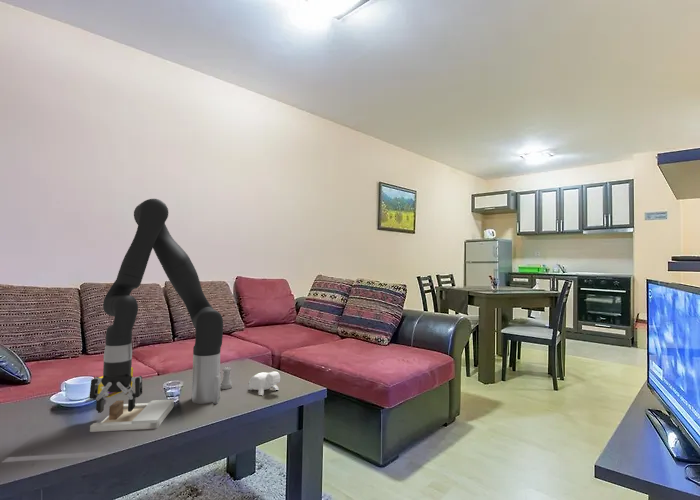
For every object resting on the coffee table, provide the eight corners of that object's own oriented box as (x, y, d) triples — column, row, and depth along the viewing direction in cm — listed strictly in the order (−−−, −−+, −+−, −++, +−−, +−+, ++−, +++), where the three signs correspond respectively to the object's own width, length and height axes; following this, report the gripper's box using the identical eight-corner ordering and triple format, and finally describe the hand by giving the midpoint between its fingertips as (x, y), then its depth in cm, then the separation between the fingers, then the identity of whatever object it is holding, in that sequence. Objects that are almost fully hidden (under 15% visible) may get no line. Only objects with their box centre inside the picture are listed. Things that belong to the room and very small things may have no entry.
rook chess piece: (225, 390, 149) (226, 369, 150) (217, 388, 152) (218, 367, 152) (234, 387, 153) (235, 367, 154) (227, 385, 156) (227, 365, 156)
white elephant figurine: (248, 399, 149) (270, 393, 140) (244, 377, 151) (265, 369, 142) (266, 393, 155) (288, 387, 146) (262, 372, 157) (284, 365, 148)
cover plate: (163, 409, 126) (164, 395, 126) (151, 425, 114) (151, 408, 115) (117, 411, 124) (118, 396, 124) (99, 427, 112) (100, 411, 112)
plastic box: (173, 409, 129) (173, 399, 129) (157, 431, 112) (157, 419, 112) (115, 412, 126) (116, 401, 126) (89, 435, 109) (90, 423, 109)
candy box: (98, 402, 135) (99, 378, 135) (93, 402, 135) (93, 378, 135) (132, 388, 151) (133, 366, 151) (128, 387, 151) (128, 366, 151)
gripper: (146, 355, 124) (144, 406, 123) (98, 356, 122) (96, 407, 121) (137, 361, 116) (135, 415, 116) (86, 362, 114) (84, 417, 114)
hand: (115, 411), depth 118 cm, fingers open, 8 cm apart
